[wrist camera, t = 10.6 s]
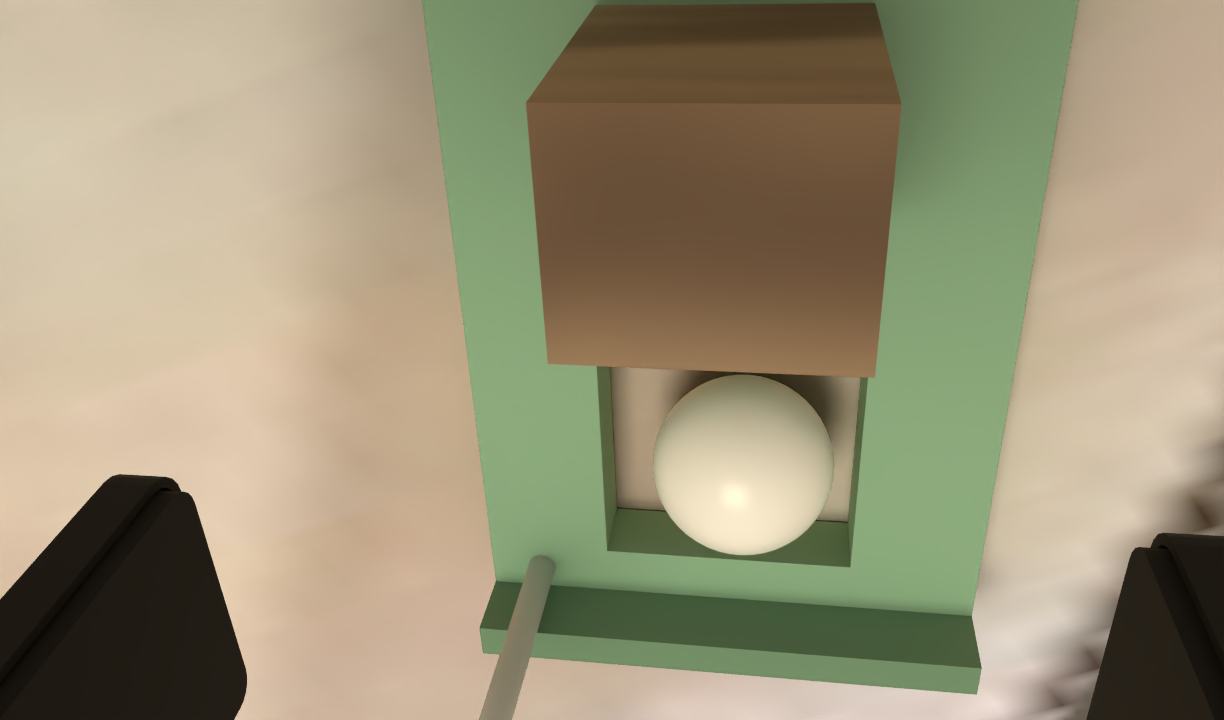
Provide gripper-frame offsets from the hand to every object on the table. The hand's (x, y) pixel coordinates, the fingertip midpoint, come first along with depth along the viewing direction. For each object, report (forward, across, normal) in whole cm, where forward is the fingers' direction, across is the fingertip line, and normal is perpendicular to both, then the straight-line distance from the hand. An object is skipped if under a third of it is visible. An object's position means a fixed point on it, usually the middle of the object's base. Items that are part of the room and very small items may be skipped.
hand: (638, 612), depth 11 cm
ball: (+16, -1, +10) cm, 18 cm away
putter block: (+16, 0, 0) cm, 16 cm away
